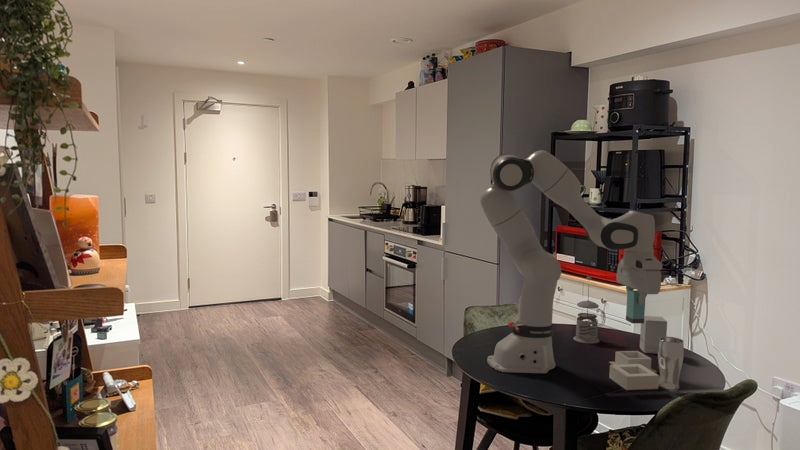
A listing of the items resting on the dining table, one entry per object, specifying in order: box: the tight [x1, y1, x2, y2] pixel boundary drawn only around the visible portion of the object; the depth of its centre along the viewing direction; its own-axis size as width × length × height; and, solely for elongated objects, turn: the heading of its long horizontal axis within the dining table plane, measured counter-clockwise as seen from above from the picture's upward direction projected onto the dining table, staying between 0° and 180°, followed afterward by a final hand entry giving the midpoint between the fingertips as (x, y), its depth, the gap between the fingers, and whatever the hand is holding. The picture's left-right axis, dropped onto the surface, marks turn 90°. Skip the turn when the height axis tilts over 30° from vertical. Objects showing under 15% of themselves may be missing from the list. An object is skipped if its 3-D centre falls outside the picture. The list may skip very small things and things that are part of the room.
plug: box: [625, 289, 646, 324], centre depth 182 cm, size 4×4×10 cm
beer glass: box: [657, 336, 685, 393], centre depth 167 cm, size 7×7×15 cm
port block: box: [608, 364, 660, 394], centre depth 169 cm, size 10×10×5 cm
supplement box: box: [639, 315, 668, 355], centre depth 201 cm, size 7×7×13 cm
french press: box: [573, 276, 606, 344], centre depth 215 cm, size 10×12×25 cm
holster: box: [608, 350, 658, 373], centre depth 184 cm, size 11×11×5 cm
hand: (635, 302), depth 182 cm, fingers closed on plug, 4 cm apart
